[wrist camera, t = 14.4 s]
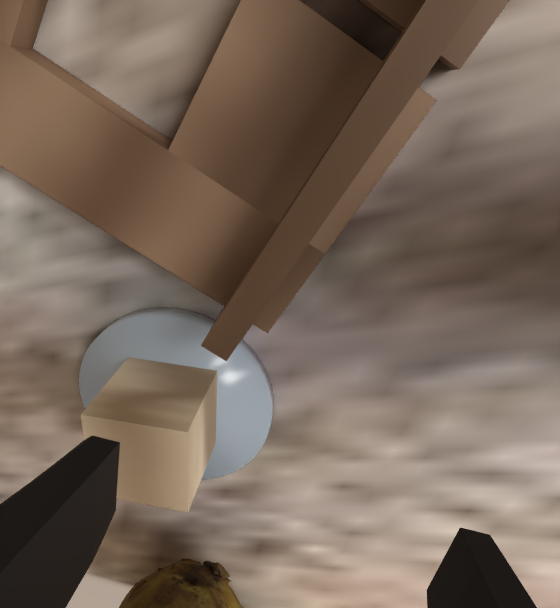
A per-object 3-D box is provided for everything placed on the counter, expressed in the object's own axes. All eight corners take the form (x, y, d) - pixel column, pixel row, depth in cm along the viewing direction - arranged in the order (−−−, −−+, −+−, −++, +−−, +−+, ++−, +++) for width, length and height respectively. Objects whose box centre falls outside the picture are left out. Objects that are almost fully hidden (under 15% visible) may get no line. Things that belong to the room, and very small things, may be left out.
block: (217, 370, 20) (187, 432, 17) (215, 442, 22) (188, 512, 19) (128, 356, 21) (80, 414, 17) (133, 428, 23) (91, 494, 19)
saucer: (312, 380, 21) (310, 391, 20) (216, 495, 25) (212, 507, 24) (132, 268, 20) (124, 275, 19) (62, 406, 24) (52, 416, 23)
